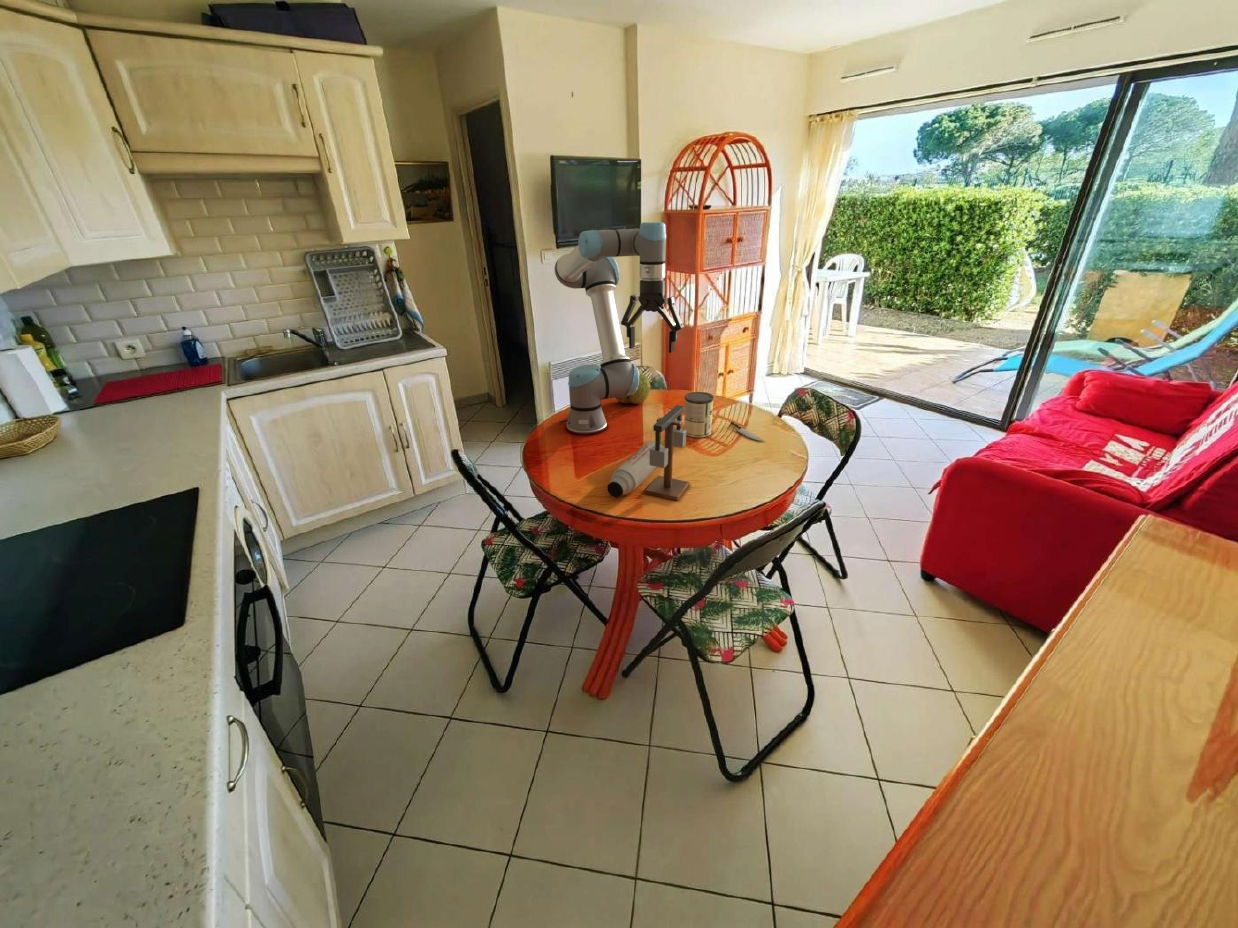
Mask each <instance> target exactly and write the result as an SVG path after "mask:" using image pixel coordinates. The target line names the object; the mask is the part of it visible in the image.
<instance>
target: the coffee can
mask: <svg viewBox="0 0 1238 928" xmlns="http://www.w3.org/2000/svg"><path fill="white" fill-rule="evenodd" d="M714 398H715V397H714V395H713V394H711V393H709V392H704V391H692V392H688V393H686V394H685V395H684V418H683V419H684V421H683V429H685V430H686V436H688V437H690V438H706V437H709V436H711V434H712V425H713V423H712V421H713V411H714V410H713V409H714V408H713V407H714Z"/></svg>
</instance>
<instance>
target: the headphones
mask: <svg viewBox="0 0 1238 928" xmlns="http://www.w3.org/2000/svg"><path fill="white" fill-rule="evenodd" d="M683 413H685V405H675V406H674V407H672V408H671V409H670V410H669V411H668V412H667V413H665V415H664V416H662V417H660V418H661V419H660V420H659V421H658V422H657V421H656V422H655V423H654V424H653V427H652V429H653V432H655V435H654V436H655V440H654V441H655V446H653V447H652V448H651V449H650V456H649V465H651V466H656V468H661V469H664V468H665V467H666V465H667V464H668V448H665V447H664V446H663V447H661V445H662V444H661V443H662V433H663V432H664V431H665V429H666V428H667V427H668V426H669V425H670V424H671V423H672V422H673V421H674V420H678V421H683V420H682V418H683ZM675 426H676V425H675ZM686 445H687V435H686V430H685V429H684V428H682V425H681V426H676V427H674V431H673V448H675V447H676V448H680V449H683V448H684V447H685V446H686Z"/></svg>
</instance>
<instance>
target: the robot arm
mask: <svg viewBox="0 0 1238 928" xmlns="http://www.w3.org/2000/svg"><path fill="white" fill-rule="evenodd" d="M666 229H667V227H666V224H665V222H663V221H648V222H647V221H643V222H641V223H640V225H639V228H637V227H636V228H625V229H623V228H622V229H621V228H620V229H599V230H598V229H590V230H583V231H581V232H580V233H579V237H578V243H577V244H578V245H576V247H574V248H573V250H571V251H570V252H569V253H565V254H562V255H561V256H560V257H559V258H558V259H556V262H555V265H554V275H555V278H556V279H557V281H558V282H559V284H561V285H562V286H565V287H566V288H570V289H574V290H575V289H584V290H585V295H586V296H587V297H589V298H590V301H591V305H592V309H593V316H594V321H595V325H596V330H597V335H598V341H599V346H600V350H601V355H602V360H601V362H600V365H598V364H583V365H579V366H576V367H574V368H572V369H571V370H570V371H569V373H568V383H567V386H568V391H569V393H568V394H569V408H570V409H569V412H568V416H567V419H564V420H561V421H560V422H559V423H560V424H564V423H566V430H567V431H568V432H570V433H572V434H574V435H581V436H590V435H591V436H592V435H596V434H599V433H602V432H604V431H605V430H606V429H607V427H608V426H607V420H606V417H605V414H604V412H603V409H602V401H604V400H609V399H610V400H611V399H616V397H625V396H628V395H633V394H634V393H635V392H636V391H637V389H638V385H639V372H640V371H639V368H638V366H637V365H636V363H632V361H631V358H630V357H629V356H627V354H626V351H625V346H624V341H623V336H622V331H621V326H624V327H625V328H626V338H628V349H629V350H632V349H634V348H635V347H636V327H635V326H634V324H635V323H636V322H637V320H638V319H639V318H640V317H641V315H642V314H644V312H652V313H656V312H657V313H658V314H659V315H660V316H661V317H662V319H663V320H664V322H665V323H666V325H667V326H668V327H669V329H670V331H668V353H669V354H672V353H674V352H675V343H676V342H677V341H678V334H679V333H678V332H679V331H680V330H682V329H684V328H685V325H684V322H683V320H682V318H681V316H680V313H679V310H678V308H677V306H676V302H675V297H674V296H670V297H666V296H665V293H666V291H665V289H666V288H665V286H666V281H665V280H664V279H665V278H666V252H667V251H666V247H667V230H666ZM617 257H618V258H619V257H639V278H640V279H639V295H637V294H634V293H633V294H632V295H630V296H629V303H628V305H627V307H626V309H625V312H624V314H623V317H622V319H621V320H619V316H618V311H617V306H616V301H615V295H614V293H615V291H616V290H617V285H618V284H619V282H620V269H619V266H618V263H617V261H616V259H615V258H617ZM637 303H640V306H639V307H638V308H637V310H636V312H634V314H633V315H632V313H633V311H634V309H635V307H636V304H637ZM665 303H666V305H667V306H668V309H669V311H670V314H671V315H670V314H669V312H668V311H667V308H666V307H665ZM620 325H621V326H620Z"/></svg>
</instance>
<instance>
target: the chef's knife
mask: <svg viewBox="0 0 1238 928" xmlns="http://www.w3.org/2000/svg"><path fill="white" fill-rule="evenodd" d="M730 425H731V426H734V427H736V428H737V430H736V432H738V433H740V434H742V435H743V436H745V437H746V438H749V439H750V440H751V439H752V440H754V441H758V442H764V440H762V439H761V438H760V437H759V436H757V435H755V434H754V433H752V432H750V431H748V430H747V429H745V428H743V427H742V426H740V425H739V424H737V423H736V422H734V421H731V422H730Z"/></svg>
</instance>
